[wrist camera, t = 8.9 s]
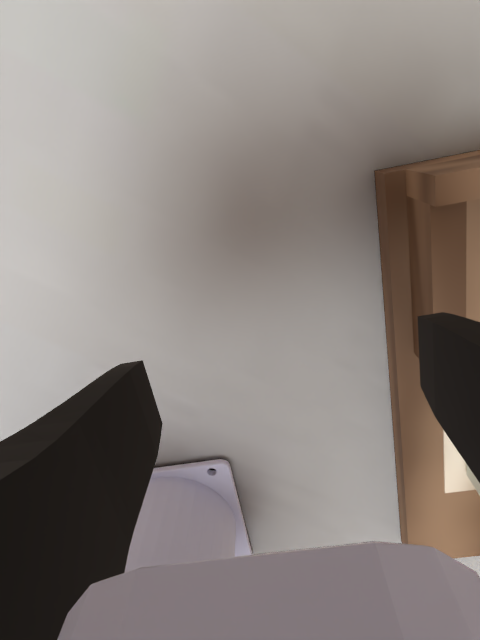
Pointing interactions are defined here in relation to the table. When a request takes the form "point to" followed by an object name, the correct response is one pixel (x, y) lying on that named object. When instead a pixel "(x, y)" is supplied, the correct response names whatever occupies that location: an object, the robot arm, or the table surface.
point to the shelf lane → (402, 336)
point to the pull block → (473, 480)
